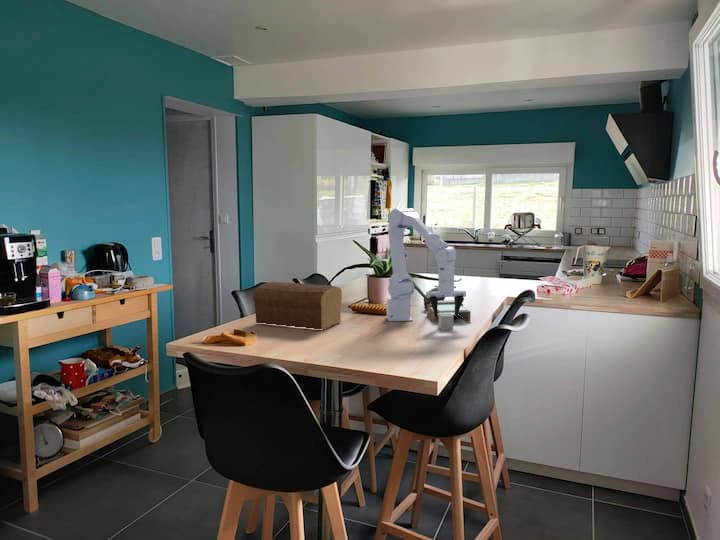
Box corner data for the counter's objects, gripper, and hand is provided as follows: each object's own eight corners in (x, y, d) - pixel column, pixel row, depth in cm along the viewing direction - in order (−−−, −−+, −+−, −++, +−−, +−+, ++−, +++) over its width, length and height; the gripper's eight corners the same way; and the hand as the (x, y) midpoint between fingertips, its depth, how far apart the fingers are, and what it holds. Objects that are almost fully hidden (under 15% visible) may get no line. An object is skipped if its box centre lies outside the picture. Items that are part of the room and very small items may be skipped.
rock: (420, 313, 235) (443, 313, 232) (419, 294, 233) (442, 294, 230) (427, 304, 246) (448, 304, 242) (425, 286, 244) (448, 286, 240)
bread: (278, 316, 225) (277, 278, 223) (343, 322, 213) (342, 282, 211) (253, 325, 209) (251, 284, 207) (321, 332, 197) (320, 289, 195)
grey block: (441, 329, 199) (441, 316, 198) (438, 327, 203) (438, 313, 203) (453, 329, 199) (453, 316, 199) (450, 326, 204) (450, 313, 203)
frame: (426, 315, 224) (427, 303, 224) (461, 314, 225) (461, 302, 225) (434, 322, 210) (434, 310, 210) (470, 321, 212) (470, 309, 211)
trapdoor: (430, 306, 226) (430, 300, 226) (455, 305, 227) (455, 300, 227) (439, 314, 209) (439, 308, 209) (467, 314, 210) (467, 308, 210)
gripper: (429, 281, 194) (429, 319, 196) (468, 280, 196) (468, 317, 197) (425, 279, 201) (425, 315, 203) (463, 278, 203) (463, 313, 204)
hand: (446, 316), depth 201 cm, fingers open, 7 cm apart
